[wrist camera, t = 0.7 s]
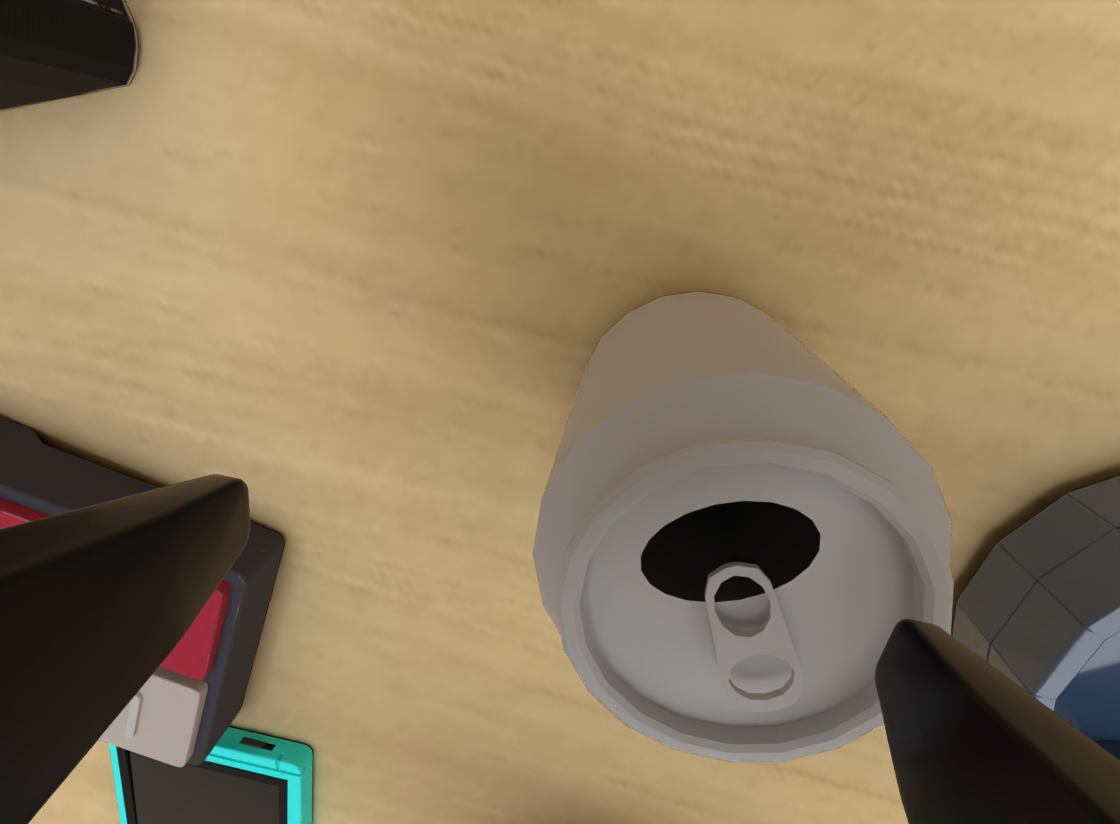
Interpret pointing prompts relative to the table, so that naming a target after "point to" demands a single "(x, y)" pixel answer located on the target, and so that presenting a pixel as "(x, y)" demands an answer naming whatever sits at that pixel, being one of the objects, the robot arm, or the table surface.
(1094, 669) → the bowl
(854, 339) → the table surface
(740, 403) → the can
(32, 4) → the camera
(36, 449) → the red and grey device
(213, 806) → the handheld game console
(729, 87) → the table surface
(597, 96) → the table surface
